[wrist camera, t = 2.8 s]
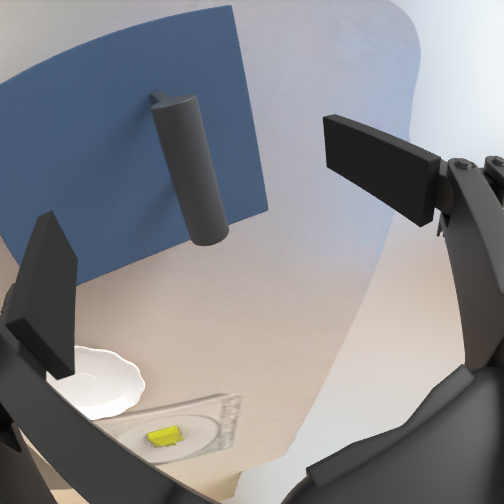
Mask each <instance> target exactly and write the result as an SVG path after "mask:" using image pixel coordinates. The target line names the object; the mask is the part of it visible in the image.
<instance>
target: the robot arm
mask: <svg viewBox="0 0 504 504" xmlns="http://www.w3.org/2000/svg"><path fill="white" fill-rule="evenodd" d="M323 125H324V137H325V150H326V163H327V167H328V168H329V169H331V170H333V171H334V172H336V173H338V174H339V175H341V176H343V177H344V178H346V179H348V180H349V181H351V182H353V183H354V184H356V185H357V186H359V187H361V188H362V189H364V190H365V191H367V192H369V193H370V194H372V195H373V196H375V197H376V198H378V199H379V200H381V201H382V202H384V203H385V204H387V205H388V206H390V207H391V208H393V209H394V210H396V211H397V212H399V213H400V214H402V215H403V216H405V217H406V218H408V219H409V220H411V221H412V222H413V223H415V224H416V225H418V226H419V227H422V226H424V225H426V224H428V223H429V222H431V221H433V215H434V209H435V208H437V209H438V210H440V211H441V214H440V219H439V225H438V230H437V236H439V235H440V232H442V231H443V237H444V238H445V242H446V246H447V250H448V254H449V259H450V263H451V268H452V272H453V277H454V282H455V287H456V293H457V298H458V304H459V310H460V317H461V323H462V331H463V339H464V348H465V365H463V364H462V365H460V366H459V367H458V368H457V369H456V370H455V371H453V372H452V373H451V374H450V375H449V376H447V377H446V378H445V379H444V380H443V381H441V382H440V383H439V384H438V385H436V386H435V387H434V388H433V389H432V390H431V392H430V393H429V394H428V395H427V397H426V398H425V399H424V401H423V402H422V403H421V404H420V406H419V407H418V408H417V409H416V411H415V412H414V413H413V414H412V416H411V417H410V418H409V419H408V420H407V422H406V423H404V424H403V425H402V426H400V427H397V428H395V429H393V430H390V431H387V432H384V433H381V434H378V435H375V436H373V437H370V438H367V439H363V440H360V441H357V442H354V443H352V444H350V445H348V446H346V447H344V448H343V449H341V450H339V451H337V452H336V453H334V454H332V455H330V456H328V457H326V458H324V459H322V460H321V461H319V462H317V463H315V464H313V465H311V466H309V467H307V468H306V474H307V476H306V477H305V478H304V479H303V480H302V481H301V482H299V483H298V484H297V485H296V486H295V487H294V488H293V489H292V490H291V491H290V493H288V495H287V496H286V497H285V499H284V500H283V501H282V503H281V504H504V209H503V208H504V159H503V158H501V157H498V156H487V157H486V158H485V165H484V168H478V167H477V166H476V165H475V164H474V163H473V162H471V161H468V160H466V159H463V158H462V159H461V158H453V159H450V160H448V162H446V161H444V160H442V159H441V157H439V156H437V155H435V154H433V153H431V152H429V151H427V150H424V149H422V148H420V147H418V146H416V145H413V144H411V143H409V142H406V141H404V140H402V139H399V138H397V137H395V136H392V135H390V134H387V133H385V132H382V131H380V130H377V129H375V128H372V127H369V126H367V125H364V124H361V123H359V122H356V121H353V120H350V119H348V118H345V117H342V116H339V115H336V114H334V115H329V116H325V117H323ZM77 267H78V258H77V256H76V254H75V253H74V251H73V249H72V247H71V245H70V243H69V242H68V240H67V238H66V236H65V234H64V232H63V230H62V228H61V226H60V225H59V223H58V221H57V219H56V217H55V215H54V213H53V211H52V210H51V211H49V212H46V213H44V214H42V215H40V216H38V218H37V220H36V223H35V226H34V228H33V231H32V234H31V236H30V239H29V242H28V245H27V248H26V250H25V253H24V256H23V259H22V262H21V266H20V269H19V272H18V275H17V279H16V282H15V283H14V284H12V286H11V287H10V289H9V291H8V292H7V294H6V296H5V300H4V303H3V307H2V311H1V314H2V315H0V504H58V503H57V502H56V500H55V498H54V497H53V495H52V493H51V492H50V490H49V488H48V487H47V485H46V483H45V481H44V479H43V477H42V476H41V474H40V472H39V470H38V468H37V466H36V464H35V462H34V460H33V458H32V456H31V454H30V452H29V450H28V448H27V445H26V443H25V441H24V439H23V437H22V434H21V432H20V430H19V428H20V429H21V431H22V432H23V433H24V435H25V436H26V437H27V438H28V439H29V441H30V442H31V443H32V444H33V446H34V447H35V448H36V449H37V450H38V451H39V453H40V454H41V455H42V456H43V457H44V458H45V459H46V460H47V462H48V463H49V464H50V465H51V466H52V467H53V468H54V469H55V470H56V471H57V472H58V473H59V474H60V475H61V476H62V477H63V478H64V480H66V482H68V484H69V485H70V486H72V487H73V488H74V489H75V490H76V491H77V492H78V493H79V494H80V495H81V496H82V497H83V498H84V499H85V500H86V501H87V502H89V503H90V504H221V503H219V502H217V501H215V500H213V499H211V498H209V497H207V496H205V495H203V494H202V493H200V492H198V491H196V490H194V489H192V488H190V487H189V486H187V485H185V484H183V483H181V482H180V481H178V480H176V479H175V478H173V477H171V476H169V475H168V474H166V473H165V472H163V471H161V470H160V469H158V468H156V467H155V466H153V465H152V464H150V463H149V462H147V461H146V460H144V459H143V458H141V457H140V456H138V455H137V454H135V453H134V452H132V451H131V450H129V449H128V448H127V447H125V446H124V445H122V444H121V443H120V442H118V441H117V440H116V439H114V438H113V437H112V436H110V435H109V434H108V433H106V432H105V431H104V430H102V429H101V428H100V427H99V426H97V425H96V424H95V423H93V422H92V421H91V420H90V419H89V418H87V417H86V416H85V415H84V414H83V413H81V412H80V411H79V410H78V409H77V408H76V407H74V406H73V405H72V404H71V403H70V402H69V401H68V400H66V399H65V398H64V397H63V396H62V395H61V394H60V393H59V392H58V391H57V390H56V389H54V388H53V387H52V386H51V385H50V384H49V383H48V382H47V381H46V372H47V371H48V372H49V373H50V374H51V375H52V376H53V377H54V378H55V379H56V380H60V379H63V378H66V377H69V376H72V375H75V348H74V329H75V296H76V280H77Z"/></svg>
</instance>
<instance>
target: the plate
mask: <svg viewBox="0 0 504 504" xmlns="http://www.w3.org/2000/svg"><path fill="white" fill-rule="evenodd" d="M74 348H75V375H72V376H69V377H66V378H63V379H60V380H56V379H55V378H54V377H53V376H52V375H51V374H50V373H49V372H48V371H47V372H46V381H47V382H48V383H49V384H50V385H51V386H52V387H53V388H54V389H56V390H57V391H58V392H59V393H60V394H61V395H62V396H63V397H64V398H65V399H66V400H68V401H69V402H70V403H71V404H72V405H73V406H74V407H76V408H77V409H78V410H79V411H80V412H81V413H83V414H84V415H85V416H86V417H87V418H89V419H90V420H96V419H100V418H104V417H111V416H116V415H119V414H121V413H123V412H124V411H125V410H126V409H128V408H130V407H132V406H134V405H136V404H137V403H138V402H139V400H140V396H141V394H142V392H143V391H144V389H145V382H144V380H143V379H142V378H141V376H140V371H139V369H138V368H137V367H136V365H135V364H133V363H131V362H129V361H126V360H124V359H123V358H121V357H120V356H119V355H118V354H116V353H114V352H111V351H108V350H102V349H91V348H87V347H84V346H74Z"/></svg>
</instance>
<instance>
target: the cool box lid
mask: <svg viewBox="0 0 504 504" xmlns="http://www.w3.org/2000/svg"><path fill="white" fill-rule="evenodd" d="M51 210H52V211H53V213H54V215H55V217H56V219H57V221H58V223H59V225H60V226H61V228H62V230H63V232H64V234H65V236H66V238H67V240H68V242H69V243H70V245H71V247H72V249H73V251H74V253H75V254H76V256H77V258H78V267H77V280H76V286H78V285H80V284H83V283H85V282H87V281H90V280H92V279H94V278H97V277H99V276H102V275H104V274H106V273H109V272H111V271H114V270H116V269H118V268H121V267H123V266H126V265H128V264H131V263H133V262H136V261H138V260H141V259H143V258H146V257H148V256H150V255H153V254H155V253H158V252H161V251H163V250H166V249H168V248H171V247H173V246H176V245H178V244H181V243H183V242H186V241H188V240H191V241H192V242H193V243H194V244H196V245H198V246H210V245H214V244H216V243H218V242H220V241H222V240H223V239H224V238H225V237H226V236H227V235H228V233H229V227H228V225H230V224H233V223H235V222H238V221H241V220H243V219H246V218H249V217H251V216H254V215H257V214H260V213H262V212H265V211H268V210H269V209H268V203H267V197H266V191H265V185H264V179H263V173H262V167H261V161H260V156H259V150H258V144H257V138H256V133H255V127H254V121H253V116H252V110H251V105H250V99H249V94H248V88H247V83H246V77H245V72H244V67H243V61H242V56H241V51H240V46H239V41H238V35H237V30H236V25H235V20H234V15H233V10H232V6H231V5H227V6H220V7H214V8H208V9H202V10H197V11H192V12H187V13H182V14H178V15H174V16H169V17H165V18H161V19H157V20H153V21H150V22H146V23H143V24H139V25H136V26H132V27H129V28H126V29H123V30H120V31H117V32H114V33H111V34H108V35H105V36H102V37H99V38H97V39H94V40H91V41H89V42H86V43H84V44H81V45H79V46H76V47H74V48H71V49H69V50H67V51H64V52H62V53H60V54H58V55H55V56H53V57H51V58H49V59H47V60H45V61H43V62H41V63H39V64H37V65H35V66H33V67H31V68H29V69H27V70H25V71H23V72H21V73H19V74H18V75H16V76H14V77H12V78H10V79H9V80H7V81H5V82H3V83H2V84H0V235H1V237H2V238H3V240H4V242H5V244H6V245H7V247H8V249H9V250H10V252H11V254H12V255H13V257H14V258H15V260H16V262H17V263H18V265H19V266H21V262H22V259H23V256H24V253H25V250H26V248H27V245H28V242H29V239H30V236H31V234H32V231H33V228H34V226H35V223H36V220H37V218H38V216H40V215H42V214H44V213H46V212H49V211H51Z"/></svg>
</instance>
